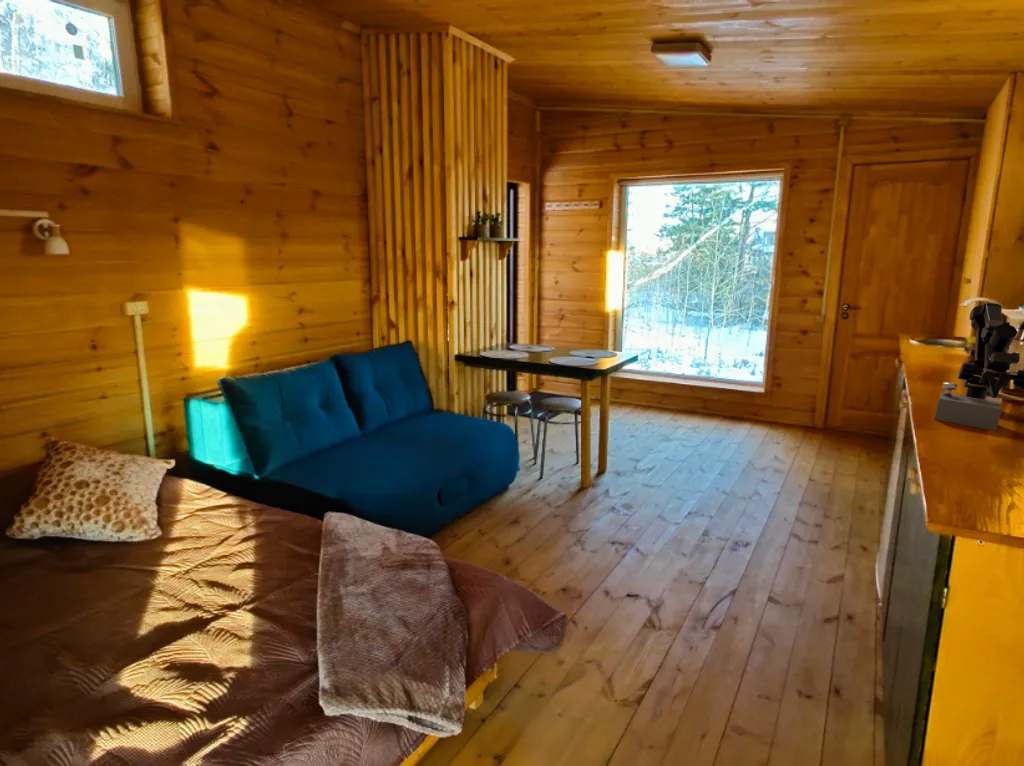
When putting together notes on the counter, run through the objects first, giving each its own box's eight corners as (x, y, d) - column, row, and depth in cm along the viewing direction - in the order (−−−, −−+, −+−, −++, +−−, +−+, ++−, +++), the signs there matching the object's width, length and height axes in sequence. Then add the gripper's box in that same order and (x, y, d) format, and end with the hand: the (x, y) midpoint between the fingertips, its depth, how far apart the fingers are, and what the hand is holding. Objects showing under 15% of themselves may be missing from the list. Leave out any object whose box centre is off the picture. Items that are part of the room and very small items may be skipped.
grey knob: (940, 393, 210) (943, 381, 209) (955, 395, 208) (957, 383, 207) (940, 395, 207) (942, 383, 206) (954, 398, 205) (957, 385, 204)
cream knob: (983, 407, 204) (986, 395, 203) (998, 410, 202) (1002, 397, 201) (983, 410, 201) (986, 397, 200) (999, 413, 199) (1002, 400, 198)
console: (936, 413, 212) (940, 392, 211) (995, 423, 204) (1000, 402, 202) (934, 419, 204) (939, 398, 203) (996, 430, 196) (1001, 408, 194)
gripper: (968, 338, 205) (966, 377, 198) (1040, 346, 197) (1041, 387, 190) (959, 358, 214) (956, 397, 207) (1028, 367, 206) (1028, 407, 199)
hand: (994, 397), depth 200 cm, fingers closed, pressing on cream knob
